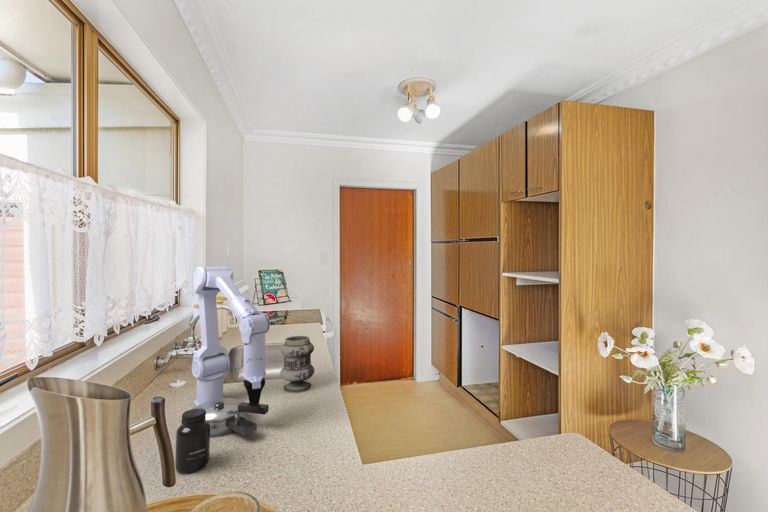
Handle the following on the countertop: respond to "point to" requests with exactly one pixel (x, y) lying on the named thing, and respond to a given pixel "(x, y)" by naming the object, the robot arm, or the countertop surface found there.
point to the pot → (232, 426)
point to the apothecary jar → (297, 363)
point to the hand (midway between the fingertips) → (254, 405)
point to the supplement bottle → (192, 442)
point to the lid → (230, 408)
